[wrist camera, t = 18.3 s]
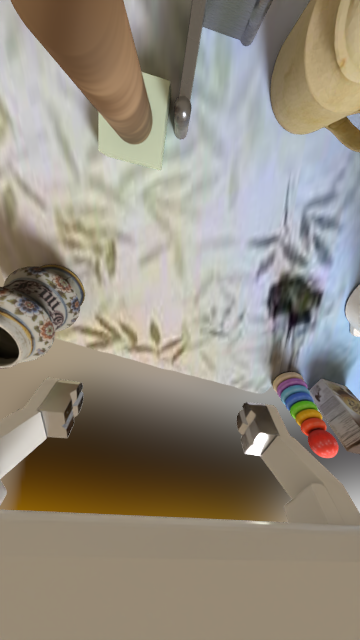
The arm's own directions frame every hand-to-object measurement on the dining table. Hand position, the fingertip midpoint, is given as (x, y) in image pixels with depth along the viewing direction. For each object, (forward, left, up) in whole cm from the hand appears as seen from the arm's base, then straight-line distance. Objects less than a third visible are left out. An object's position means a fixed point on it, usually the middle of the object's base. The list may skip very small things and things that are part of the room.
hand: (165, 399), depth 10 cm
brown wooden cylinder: (+8, -16, -27) cm, 32 cm away
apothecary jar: (+21, +11, -31) cm, 39 cm away
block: (+8, -16, -31) cm, 36 cm away
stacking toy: (-37, +27, -31) cm, 55 cm away
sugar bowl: (-15, -25, -31) cm, 43 cm away
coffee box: (-50, +28, -31) cm, 65 cm away
